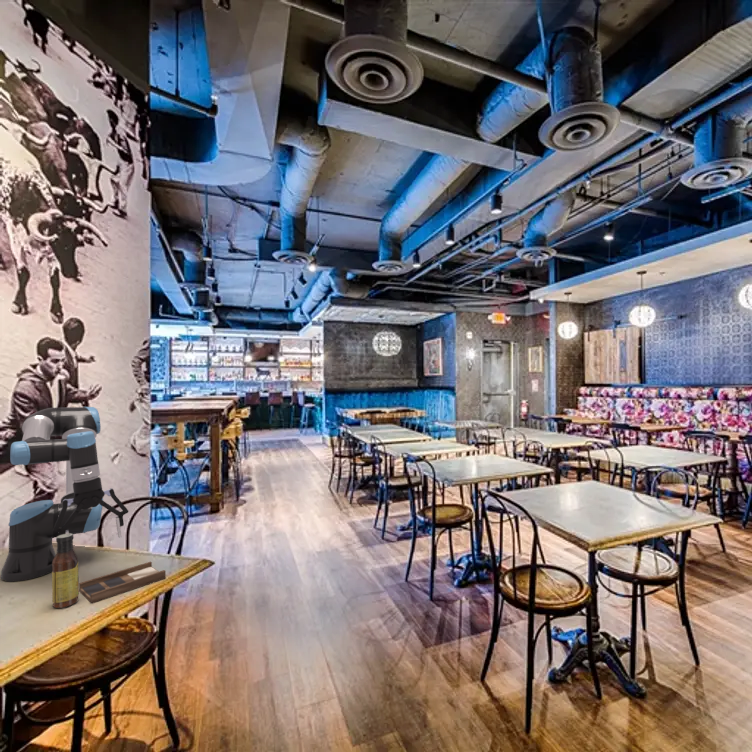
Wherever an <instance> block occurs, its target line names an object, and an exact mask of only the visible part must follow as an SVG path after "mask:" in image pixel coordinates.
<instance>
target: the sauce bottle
mask: <svg viewBox="0 0 752 752" xmlns="http://www.w3.org/2000/svg"><path fill="white" fill-rule="evenodd" d="M55 538H56V541H55V542H56V543H57V544H56V553H55V554H56V556H55V557H54V559H53V562H52V572H51V589H52V591H51V593H52V595H51V596H52V597H51V598H52V600H51V601H52V607H53V608H56V609H62V608H67V607H70V606H72V605H74V604H76V603H77V602H78V600H79V594H80V592H79V578H80V577H79V559H78V556H77V554H76V551H75V550H74V545H73V544H74V541H73V540H74V538H75V537H74V534H72V533H69V534H63V535H59V536H57V537H55Z"/></svg>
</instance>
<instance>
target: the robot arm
mask: <svg viewBox="0 0 752 752" xmlns="http://www.w3.org/2000/svg"><path fill="white" fill-rule="evenodd" d="M21 426H22V427H21V430H22V434H23V436H22V439H21V440H20V441H13V442H12V443H11V445H10V455H9V456H10V457H9V458H10V464H11V465H13V466H22V465H23V466H27V465H36V464H47V463H48V464H49V463H56V462H57V463H58V462H66V470H65V494H64V495H63V496H61V498H60V503H59V502H58V503H54V501H53V500H52V499H45V500H38V501H33V502H30V503H27V504H23V505H20V506H18V507H16V508H14V509H13V510H11V512H10V515H9V522H8V526H9V531H8V532H9V533H8V534H9V536H8V555H7V556H6V558H5V561H4V564H3V566H2V569H1V571H0V580H2V579H3V580H6V581H5V582H21V581H28V580H32V579H35V578H39V577H42V576H45V575H47V574H50V573H52V562H53V559H54V557H55V556H56V554H57V553H56V551H55V549H54V546H53V538H56V537H57V536H59V535H63V534H69V533H72V534H73V535H77V534H85V533H88V532H93V531H96V530H98V529H99V528H100V525H101V519H102V512H103V507H104V509H106V510H108V511H109V512H111V513H113V514H115V515H116V517H115V522H116V523H115V524H116V531H117V537H118V538H119V539H121V538H122V529H121V527H124V525H125V523H124V515H126V514H128V513H129V509H128V508H127V507H126V506H125V505H124V504H123V502H122V501H121V500H120V499H119V497H117V495H116V494H115V493H116V492H115V490H114V489H113V488H109V489H106V490H103V485H102V478H101V477H100V475H101V471H100V464H99V459H98V458H99V457H98V450H97V443H96V442H97V439H96V437H97V435H98V434H100V433H101V429H102V428H101V417H100V414H99V410H98V409H97V408H96V407H94V406H82V407H80V406H79V407H77V406H75V407H74V406H73V407H70V406H68V407H47V408H44V409H41V410H38V411H36V412H34V413H31V414H30V415H29V416H27V417H26V418H25V420H24V421H23V423H22V425H21ZM51 437H61V438H60V439H59V438H57V439H51ZM105 495H106V496H108V497H111V499H112V500H113V501H114V502H115V504H117V506H118V507H119V508H120V509H121V510H122V511H120V510H118V509H117V508H116V507H114V506H112V505H110V503H107V501H105V500H104V497H105ZM3 580H2V581H3Z"/></svg>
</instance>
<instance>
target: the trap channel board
mask: <svg viewBox="0 0 752 752" xmlns="http://www.w3.org/2000/svg"><path fill="white" fill-rule="evenodd" d="M152 563H153V562H152V561H149V562H145V563H144V562H143V563H142V564H138V565H135V566H132V567H128V568H125V569H122V570H119V571H115V572H112V573H108V574H104V575H102V576H98V577H94V578H91V579H87V580H85V581H81V582H80V583H79V594H81V595H82V596H83V597H85V599H86V600H87V601H88V602H90V604H95V603H97V602H101V601H103V600H106V599H109V598H113V597H115V596H118V595H122V594H124V593H127V592H130V591H134V590H136V589H139V588H141V587H145V586H147V585H150V583H151V584H154V583H156V582H160V581H162V580H164V579H166V569H165V570H160V571H159V570H158V569H156V568H154V567H153V565H152ZM153 582H154V583H153Z"/></svg>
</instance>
